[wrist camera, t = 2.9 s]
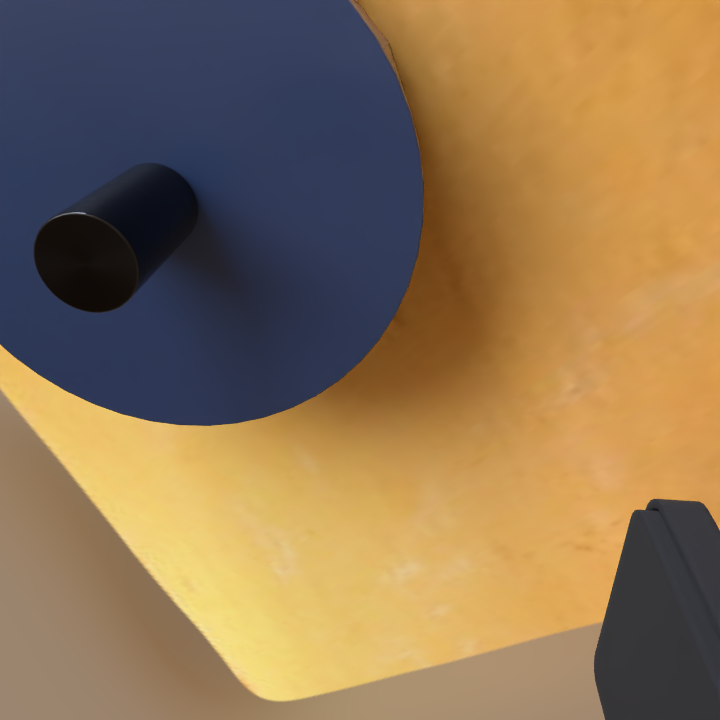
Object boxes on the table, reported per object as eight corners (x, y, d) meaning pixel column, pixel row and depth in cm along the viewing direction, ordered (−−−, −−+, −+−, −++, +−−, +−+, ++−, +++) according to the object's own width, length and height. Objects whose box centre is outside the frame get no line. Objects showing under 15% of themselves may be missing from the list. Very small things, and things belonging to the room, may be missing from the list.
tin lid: (-157, -124, 20) (-398, -168, 14) (450, -99, 19) (462, -135, 13) (-21, 392, 28) (-136, 498, 23) (404, 426, 28) (398, 546, 22)
